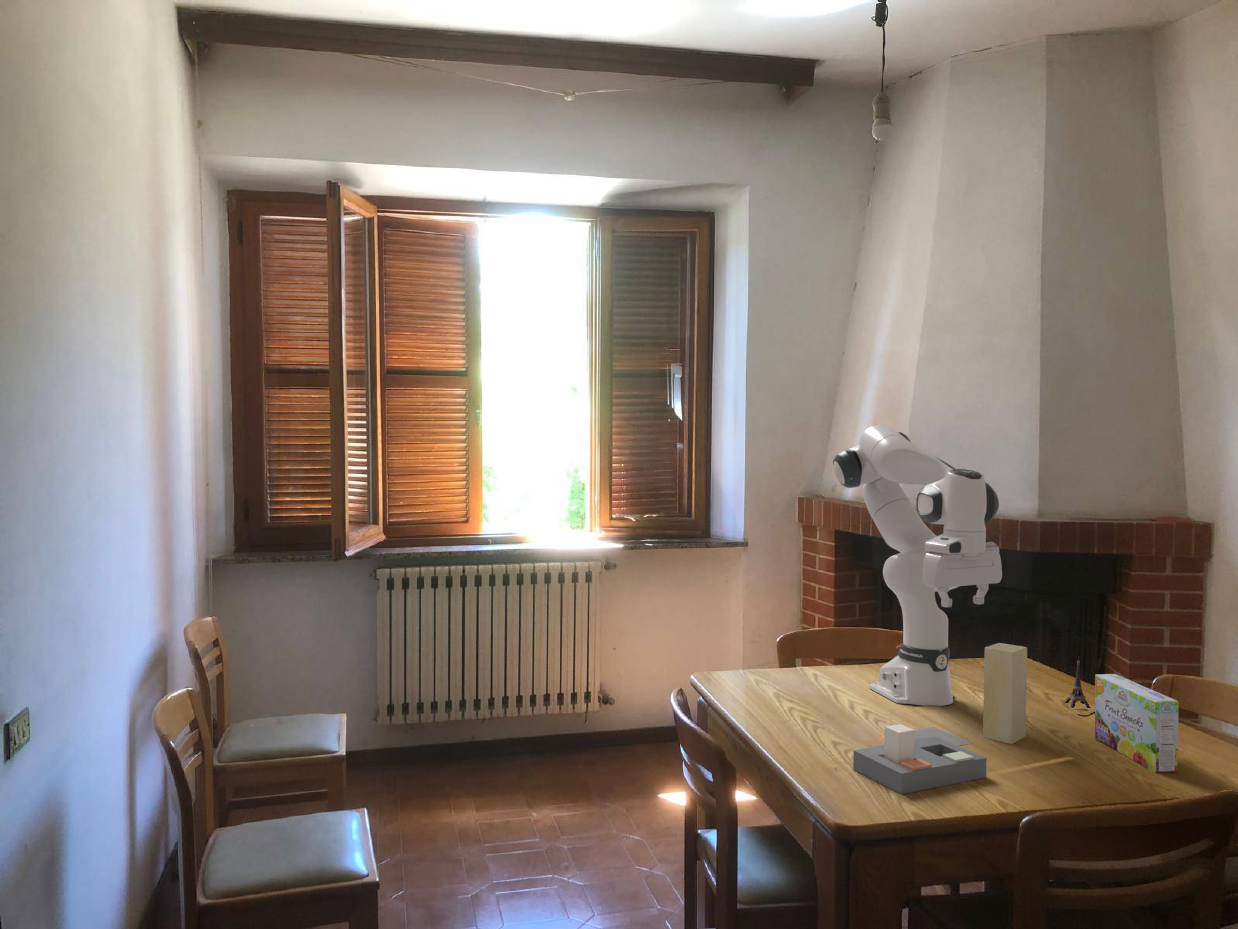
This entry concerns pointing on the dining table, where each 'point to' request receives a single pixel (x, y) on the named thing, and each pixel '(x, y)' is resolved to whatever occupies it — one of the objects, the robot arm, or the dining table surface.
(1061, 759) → the dining table surface
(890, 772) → the socket block
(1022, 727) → the tall beige block
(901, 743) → the plug
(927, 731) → the rubber mat
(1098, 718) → the snack box
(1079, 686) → the eiffel tower figurine
